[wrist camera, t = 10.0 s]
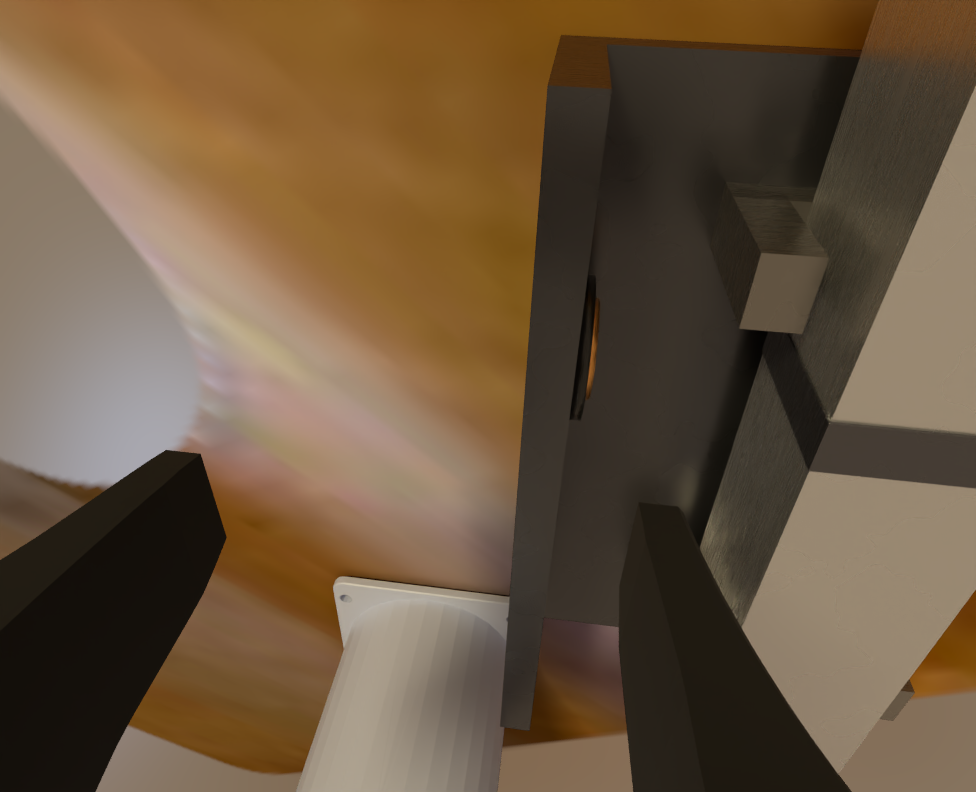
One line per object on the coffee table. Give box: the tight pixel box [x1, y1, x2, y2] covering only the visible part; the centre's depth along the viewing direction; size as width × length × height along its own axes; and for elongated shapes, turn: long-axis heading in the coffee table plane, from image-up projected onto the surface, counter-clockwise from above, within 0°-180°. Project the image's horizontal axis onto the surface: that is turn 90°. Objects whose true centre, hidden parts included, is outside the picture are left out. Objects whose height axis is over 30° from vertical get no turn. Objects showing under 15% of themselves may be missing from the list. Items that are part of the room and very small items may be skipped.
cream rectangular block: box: [700, 0, 976, 774], centre depth 16 cm, size 20×4×4 cm, turn 178°
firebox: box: [500, 35, 915, 731], centre depth 18 cm, size 20×15×6 cm
